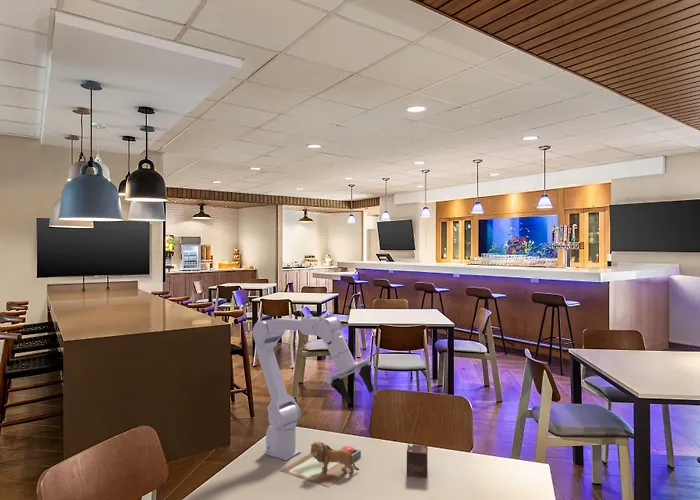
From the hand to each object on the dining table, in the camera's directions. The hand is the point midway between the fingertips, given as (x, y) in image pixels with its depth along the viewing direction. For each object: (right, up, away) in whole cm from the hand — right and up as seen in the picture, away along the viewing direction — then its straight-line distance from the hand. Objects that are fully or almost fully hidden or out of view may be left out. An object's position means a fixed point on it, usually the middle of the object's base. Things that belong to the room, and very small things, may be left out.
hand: (360, 397), depth 140 cm
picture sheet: (-13, -24, +6) cm, 28 cm away
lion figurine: (-8, -24, +4) cm, 25 cm away
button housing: (-4, -24, +14) cm, 28 cm away
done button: (-4, -22, +14) cm, 27 cm away
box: (+17, -24, +4) cm, 30 cm away
